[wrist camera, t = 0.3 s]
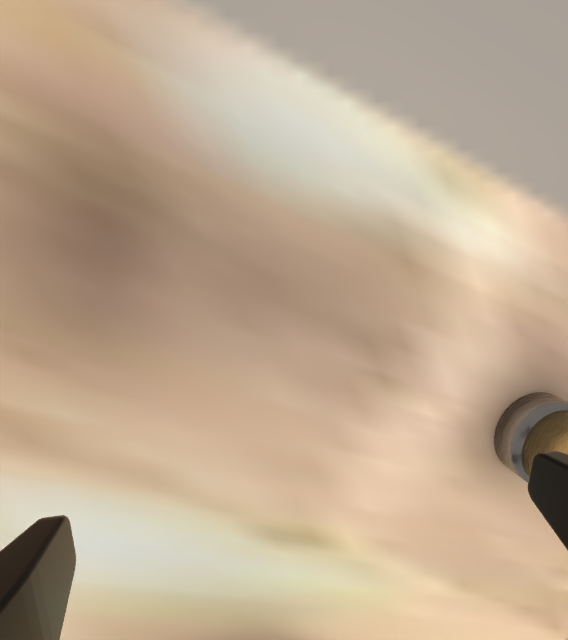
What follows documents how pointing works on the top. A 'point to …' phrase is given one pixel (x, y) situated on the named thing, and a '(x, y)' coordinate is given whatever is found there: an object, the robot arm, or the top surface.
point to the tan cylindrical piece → (531, 431)
